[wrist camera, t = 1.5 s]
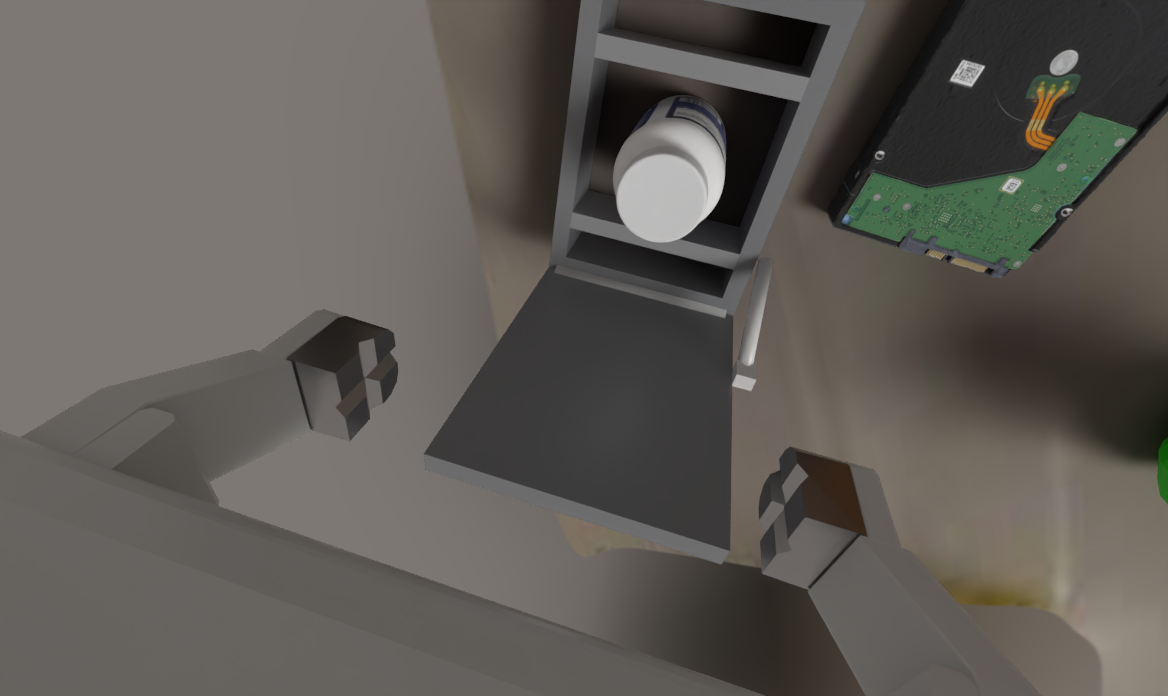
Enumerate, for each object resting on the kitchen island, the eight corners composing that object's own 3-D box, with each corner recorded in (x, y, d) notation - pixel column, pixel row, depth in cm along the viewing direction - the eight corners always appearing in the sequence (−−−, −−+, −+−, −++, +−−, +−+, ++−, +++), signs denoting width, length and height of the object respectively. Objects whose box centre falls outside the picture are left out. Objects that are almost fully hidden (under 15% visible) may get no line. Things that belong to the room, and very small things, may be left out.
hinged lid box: (606, -48, 24) (370, -109, 9) (870, 3, 23) (1155, 40, 7) (564, 254, 35) (425, 469, 19) (742, 300, 33) (747, 572, 18)
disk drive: (1005, -119, 20) (822, 213, 29) (1038, -133, 18) (829, 230, 27) (1265, -55, 19) (993, 264, 28) (1332, -62, 17) (1014, 286, 26)
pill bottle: (649, 199, 31) (620, 268, 23) (623, 112, 28) (581, 159, 21) (735, 174, 29) (735, 242, 21) (716, 78, 26) (707, 116, 19)
